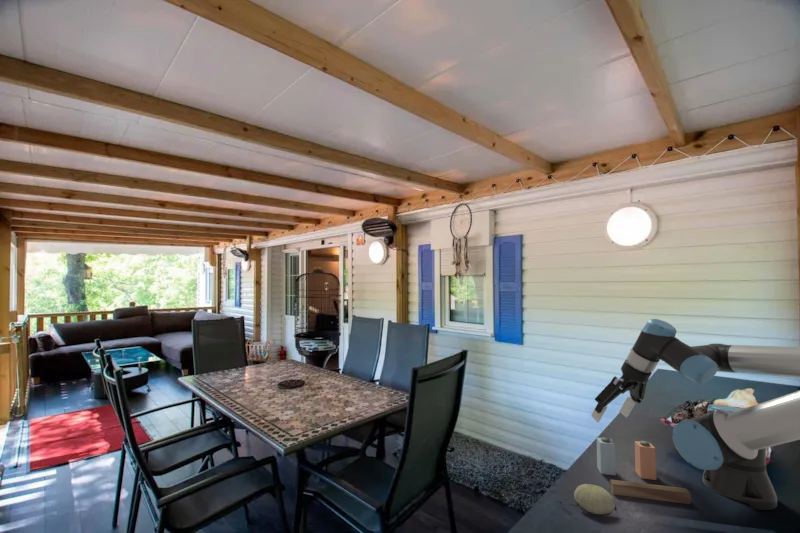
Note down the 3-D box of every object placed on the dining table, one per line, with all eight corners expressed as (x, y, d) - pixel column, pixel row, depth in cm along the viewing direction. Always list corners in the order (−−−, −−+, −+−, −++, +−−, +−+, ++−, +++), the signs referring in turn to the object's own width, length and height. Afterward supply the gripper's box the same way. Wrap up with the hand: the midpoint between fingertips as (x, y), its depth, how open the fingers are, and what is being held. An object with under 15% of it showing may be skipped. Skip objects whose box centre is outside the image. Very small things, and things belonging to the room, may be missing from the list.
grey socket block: (597, 467, 113) (596, 435, 114) (611, 468, 112) (610, 436, 113) (601, 473, 109) (600, 440, 110) (615, 475, 108) (615, 442, 109)
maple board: (596, 469, 114) (596, 456, 114) (662, 477, 110) (662, 463, 110) (612, 499, 99) (612, 483, 99) (690, 509, 94) (690, 493, 94)
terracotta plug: (635, 471, 111) (634, 438, 111) (650, 473, 110) (649, 440, 110) (640, 478, 107) (639, 444, 107) (656, 480, 106) (655, 446, 106)
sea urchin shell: (575, 484, 103) (597, 470, 99) (598, 512, 99) (622, 499, 95) (566, 499, 95) (589, 484, 92) (590, 530, 92) (615, 516, 88)
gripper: (653, 355, 121) (625, 404, 130) (601, 359, 112) (573, 411, 120) (675, 370, 115) (644, 420, 123) (621, 376, 105) (591, 430, 113)
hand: (609, 416), depth 122 cm, fingers open, 13 cm apart
